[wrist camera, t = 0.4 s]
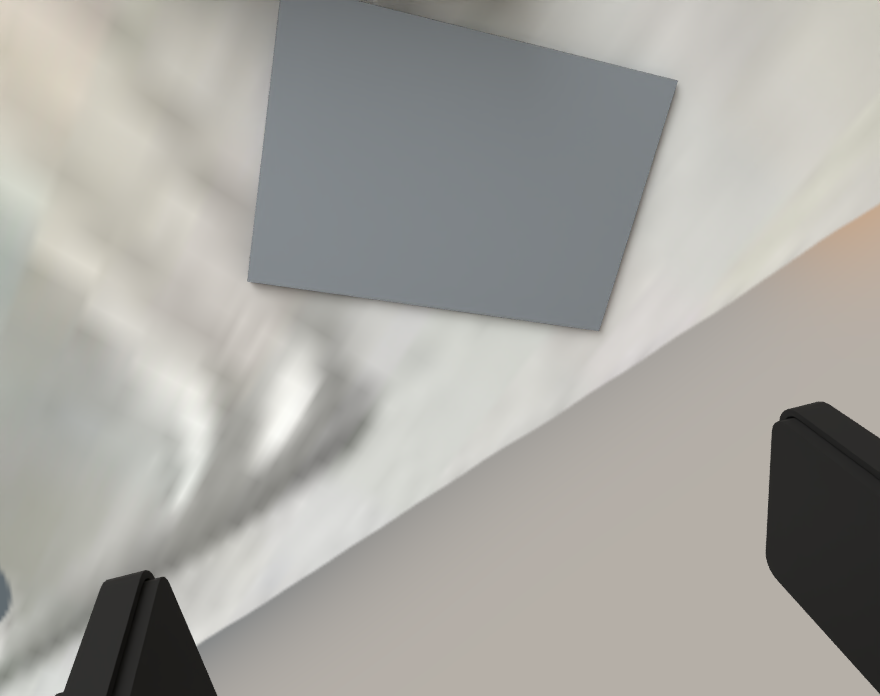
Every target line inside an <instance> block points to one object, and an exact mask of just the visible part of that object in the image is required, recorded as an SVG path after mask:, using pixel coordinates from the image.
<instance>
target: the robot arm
mask: <svg viewBox="0 0 880 696" xmlns="http://www.w3.org/2000/svg"><path fill="white" fill-rule="evenodd" d="M768 500H769V501H768V519H767V538H766V559H767V563H768V566H769V568H770V570H771V572H772V574H773V575H774V577H775V578H776V579H777V580H778V581H779V583H780V584H782V586H783V587H784V588H785V589H786V590H787V591H788V593H789V594H790V595H791V596H792V597H793V598H794V599H795V600H796V601H797V603H799V605H800V606H801V607H802V608H803V609H804V610H805V611H806V613H807V614H808V615H809V616H810V617H811V618H812V619H813V620H814V621H815V622H816V624H817V625H818V626H819V627H820V628H821V629H822V630H823V631H824V632H825V634H826V635H827V636H828V637H829V638H830V639H831V640H832V641H833V642H834V644H835V645H836V646H837V647H838V648H839V649H840V650H841V651H842V652H843V654H844V655H845V656H846V657H847V658H848V659H849V660H850V661H851V662H852V664H853V665H854V666H855V667H856V668H857V669H858V670H859V671H860V672H861V674H862V675H863V676H864V677H865V678H866V679H867V680H868V681H869V682H870V683H871V685H872V686H873V687H874V688H875V689H876V690H877V691H878V692H879V693H880V438H878V437H877V436H875V435H874V434H872V433H871V432H869V431H868V430H866V429H865V428H864V427H862V426H861V425H859V424H858V423H856V422H855V421H853V420H852V419H850V418H849V417H847V416H846V415H844V414H842V413H841V412H840V411H838V410H837V409H835V408H834V407H832V406H831V405H829V404H827V403H825V402H815V403H811V404H807V405H803V406H799V407H795V408H791V409H787V410H785V411H784V412H783V413H782V414H781V416H780V421H778V422H776V423H775V424H774V425H773V429H772V440H771V461H770V480H769V499H768ZM55 696H217V694H216V692H215V689H214V687H213V685H212V682H211V680H210V678H209V675H208V673H207V670H206V668H205V666H204V664H203V661H202V659H201V656H200V654H199V652H198V649H197V647H196V645H195V642H194V640H193V638H192V635H191V633H190V631H189V628H188V626H187V623H186V621H185V619H184V616H183V614H182V612H181V609H180V607H179V605H178V602H177V600H176V598H175V595H174V593H173V591H172V588H171V586H170V584H169V582H168V580H167V579H166V578H165V577H160V578H156V579H155V578H154V576H153V574H152V573H151V572H150V571H147V570H145V571H141V572H137V573H133V574H129V575H125V576H121V577H117V578H113V579H109V580H106V581H105V582H104V583H103V585H102V586H101V589H100V591H99V594H98V597H97V600H96V603H95V605H94V608H93V611H92V614H91V617H90V619H89V622H88V625H87V628H86V631H85V633H84V636H83V639H82V642H81V645H80V647H79V650H78V653H77V656H76V659H75V661H74V664H73V667H72V670H71V673H70V675H69V678H68V681H67V684H66V687H65V689H64V692H62V693H58V694H56V695H55Z"/></svg>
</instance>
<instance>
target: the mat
mask: <svg viewBox="0 0 880 696" xmlns="http://www.w3.org/2000/svg"><path fill="white" fill-rule="evenodd" d="M677 82H678V81H677V80H673V79H669V78H665V77H661V76H657V75H653V74H649V73H645V72H641V71H637V70H633V69H629V68H625V67H621V66H617V65H613V64H609V63H605V62H601V61H597V60H593V59H589V58H585V57H581V56H577V55H573V54H569V53H565V52H561V51H557V50H553V49H549V48H545V47H541V46H537V45H533V44H529V43H525V42H521V41H517V40H513V39H509V38H505V37H501V36H497V35H493V34H489V33H485V32H481V31H477V30H473V29H469V28H465V27H461V26H457V25H453V24H449V23H445V22H441V21H437V20H433V19H429V18H425V17H421V16H417V15H413V14H409V13H405V12H401V11H397V10H393V9H389V8H385V7H381V6H377V5H373V4H369V3H365V2H361V1H357V0H280V5H279V14H278V22H277V31H276V39H275V48H274V56H273V65H272V74H271V82H270V91H269V99H268V108H267V116H266V125H265V133H264V142H263V151H262V159H261V168H260V176H259V185H258V193H257V202H256V211H255V219H254V228H253V236H252V245H251V253H250V262H249V270H248V279H247V281H248V282H255V283H262V284H269V285H276V286H283V287H290V288H297V289H304V290H311V291H319V292H326V293H333V294H340V295H347V296H354V297H361V298H368V299H375V300H382V301H389V302H397V303H404V304H411V305H418V306H425V307H432V308H439V309H446V310H453V311H460V312H467V313H475V314H482V315H489V316H496V317H503V318H510V319H517V320H524V321H531V322H538V323H545V324H552V325H560V326H567V327H574V328H581V329H588V330H595V331H599V329H600V326H601V323H602V320H603V317H604V314H605V310H606V307H607V304H608V301H609V298H610V295H611V291H612V288H613V285H614V282H615V279H616V276H617V272H618V269H619V266H620V263H621V260H622V257H623V253H624V250H625V247H626V244H627V241H628V238H629V234H630V231H631V228H632V225H633V222H634V219H635V215H636V212H637V209H638V206H639V203H640V199H641V196H642V193H643V190H644V187H645V184H646V180H647V177H648V174H649V171H650V168H651V165H652V161H653V158H654V155H655V152H656V149H657V146H658V142H659V139H660V136H661V133H662V130H663V127H664V123H665V120H666V117H667V114H668V111H669V108H670V104H671V101H672V98H673V95H674V92H675V89H676V85H677Z"/></svg>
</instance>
